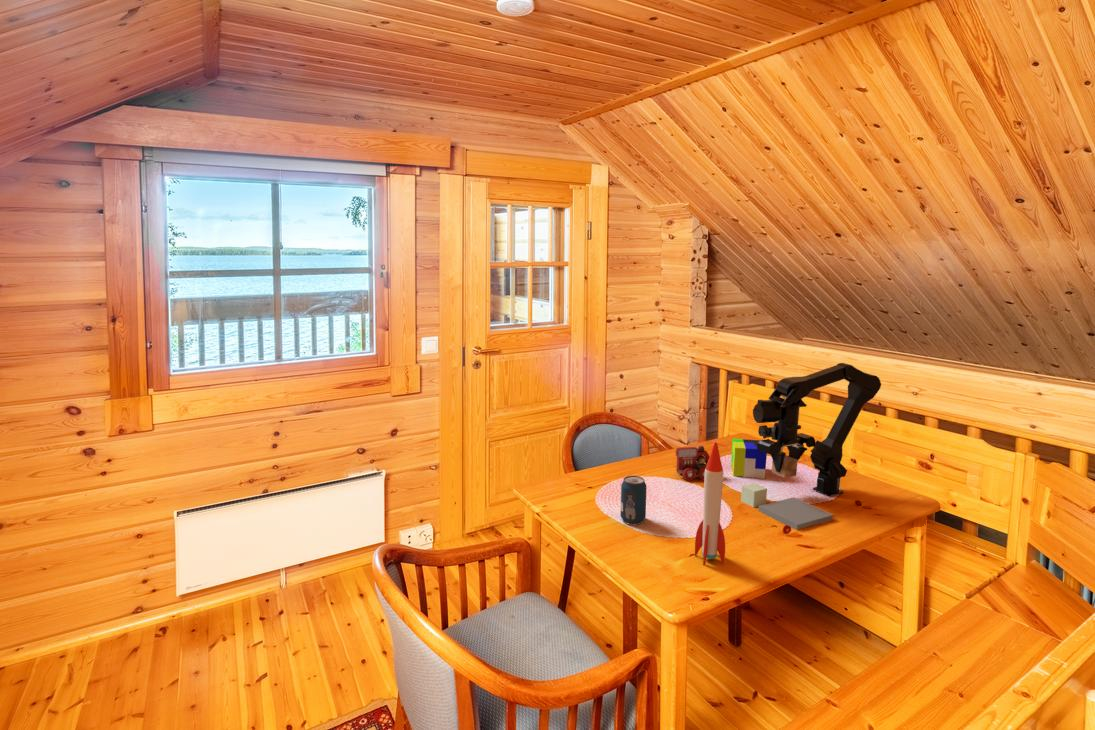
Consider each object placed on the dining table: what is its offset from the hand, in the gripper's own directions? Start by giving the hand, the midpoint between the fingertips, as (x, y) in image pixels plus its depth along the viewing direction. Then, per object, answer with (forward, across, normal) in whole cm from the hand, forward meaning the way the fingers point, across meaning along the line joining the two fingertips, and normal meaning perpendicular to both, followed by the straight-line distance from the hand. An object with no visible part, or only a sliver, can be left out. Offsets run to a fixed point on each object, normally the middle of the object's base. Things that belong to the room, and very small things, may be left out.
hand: (784, 470), depth 193 cm
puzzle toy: (+8, -5, -20) cm, 22 cm away
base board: (+8, +8, +12) cm, 16 cm away
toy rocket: (+8, +47, +21) cm, 52 cm away
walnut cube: (+1, 0, 0) cm, 1 cm away
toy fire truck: (+8, +14, -25) cm, 30 cm away
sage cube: (+8, +12, 0) cm, 14 cm away
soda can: (+8, +51, -6) cm, 52 cm away
